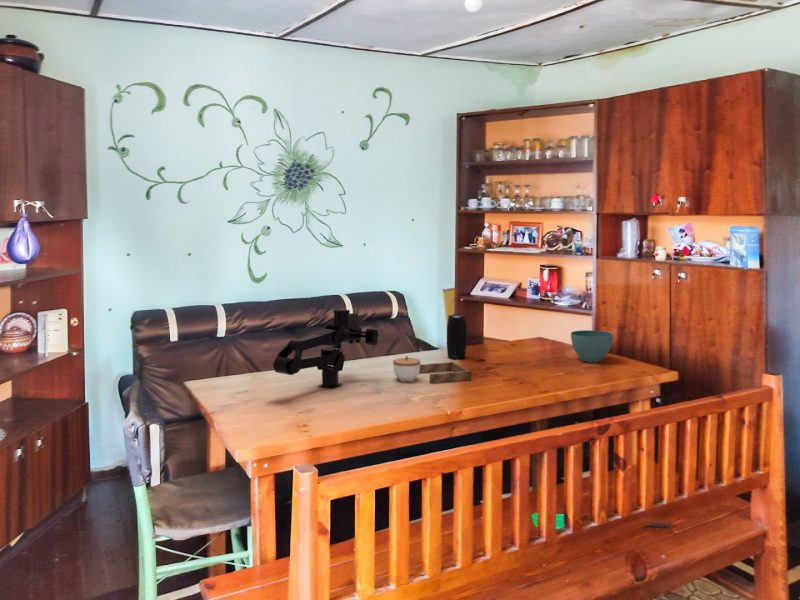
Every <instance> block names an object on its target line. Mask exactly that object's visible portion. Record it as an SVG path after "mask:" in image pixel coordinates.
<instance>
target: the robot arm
mask: <svg viewBox="0 0 800 600" xmlns="http://www.w3.org/2000/svg"><path fill="white" fill-rule="evenodd" d="M350 311H351V309H344V308H341V309H340V308H339V309H338V308H336V309H335V310H334V311H333V323H326V326H324V328H322V329H320V330H318V331H317V332H316V333H315V334H313V335H308V336H305V337H301V338H298V339H297V338H296V339H291V340H290V341H288V342H287V344H286V346H284V348H283V349H282V350H280V351H279V352H278V354H277V356H276V357H275V358H274V361H273V364H272V367H273V371H274V372H275V373H277V374H281V375H282V374H283V375H288V376H293V375H295V374H297V373H300V371H301V370H303V369H310V368H317V370H318V371H321V380H322V381H321V384H319V385H318V387H319V386H324V387H323V388H326V387H330V388H329V389H334V387H335V388H337V387H336V386H338V387H340V386H342V385H341V384H342V383H339V381H340V380H339V372H342V371H343V369H344V364H345V359H346V358H345V355H344V352H343V351H341V349H342V344H354V343H355V344H360V343H361V339H362V338H365V339H364V343H365V344H366V345H369V346H376V345H378V338H379V337H380V334H379V330H378V329H377V328H367V329H366V330H365V331H363V330H362V327H361V324H362V321H363V317H362V316H361V315H360V314H357V313H351V312H350ZM319 346H332V348H328V347H326V348H321V349H320V353H319V354H314V355H307V356H302V355H303V354H302V353H303V351H305V350H310V349H312V348H316V347H319ZM293 352H294V357H289V356H290V355H291V354H293ZM339 385H340V386H339Z"/></svg>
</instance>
